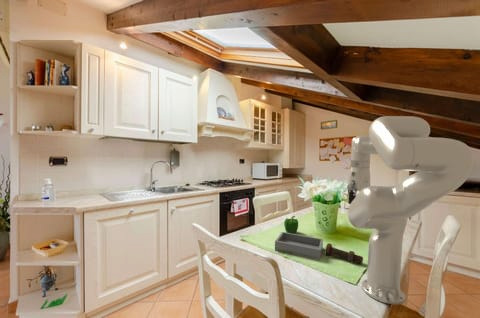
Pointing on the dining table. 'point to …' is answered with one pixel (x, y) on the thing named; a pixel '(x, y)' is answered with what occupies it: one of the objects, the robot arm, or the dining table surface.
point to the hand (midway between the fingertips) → (358, 202)
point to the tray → (299, 245)
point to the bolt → (343, 254)
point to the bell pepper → (291, 225)
